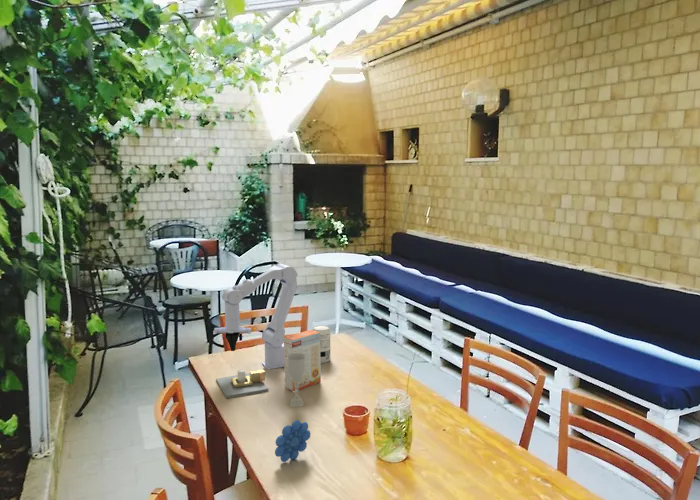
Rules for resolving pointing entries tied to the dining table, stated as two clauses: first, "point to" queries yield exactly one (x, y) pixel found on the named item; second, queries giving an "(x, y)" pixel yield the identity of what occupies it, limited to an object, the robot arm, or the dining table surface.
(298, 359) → the chalice
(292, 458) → the grapes
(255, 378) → the yellow frame with handle
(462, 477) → the dining table surface
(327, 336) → the supplement can
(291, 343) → the cracker box
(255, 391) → the post board
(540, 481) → the dining table surface
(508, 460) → the dining table surface
